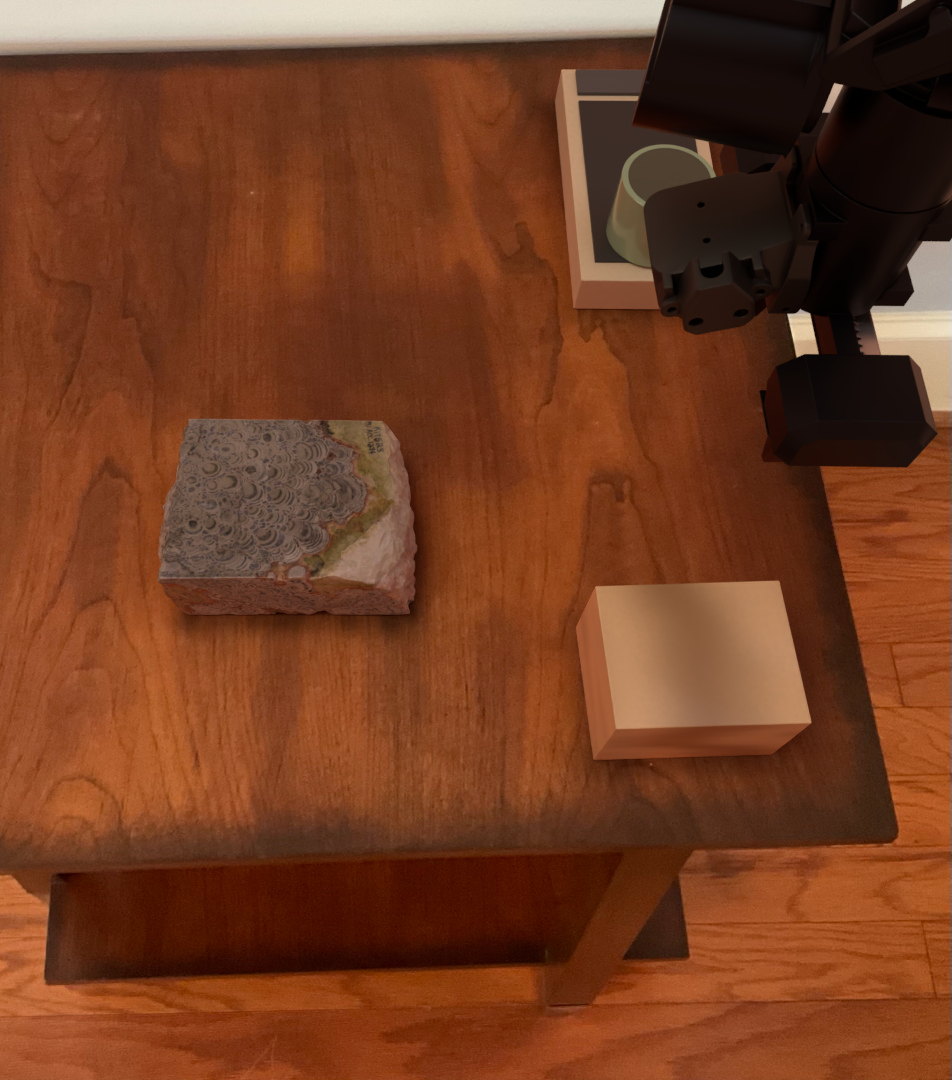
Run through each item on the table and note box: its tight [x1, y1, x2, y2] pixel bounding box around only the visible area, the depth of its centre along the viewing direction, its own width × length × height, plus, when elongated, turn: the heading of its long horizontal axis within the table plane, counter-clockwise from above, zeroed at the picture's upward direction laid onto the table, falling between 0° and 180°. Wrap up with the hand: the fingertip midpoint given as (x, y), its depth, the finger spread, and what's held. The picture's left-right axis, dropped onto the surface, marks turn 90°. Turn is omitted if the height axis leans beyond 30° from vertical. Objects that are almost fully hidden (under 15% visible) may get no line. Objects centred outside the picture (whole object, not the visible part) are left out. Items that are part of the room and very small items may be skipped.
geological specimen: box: [157, 418, 418, 616], centre depth 65 cm, size 11×6×15 cm
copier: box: [554, 68, 714, 310], centre depth 77 cm, size 20×10×4 cm, turn 179°
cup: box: [606, 144, 717, 267], centre depth 71 cm, size 6×6×5 cm
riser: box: [575, 580, 812, 761], centre depth 60 cm, size 10×8×6 cm
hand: (758, 384), depth 57 cm, fingers open, 9 cm apart
